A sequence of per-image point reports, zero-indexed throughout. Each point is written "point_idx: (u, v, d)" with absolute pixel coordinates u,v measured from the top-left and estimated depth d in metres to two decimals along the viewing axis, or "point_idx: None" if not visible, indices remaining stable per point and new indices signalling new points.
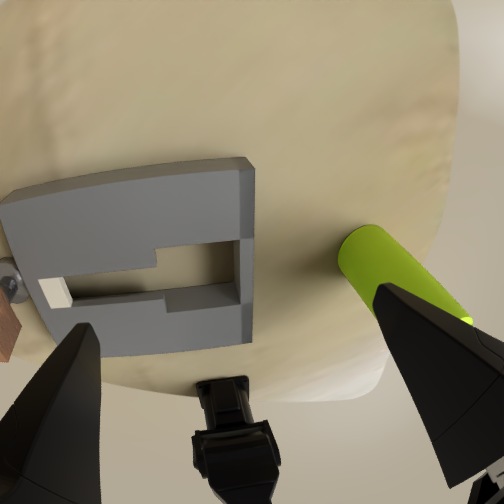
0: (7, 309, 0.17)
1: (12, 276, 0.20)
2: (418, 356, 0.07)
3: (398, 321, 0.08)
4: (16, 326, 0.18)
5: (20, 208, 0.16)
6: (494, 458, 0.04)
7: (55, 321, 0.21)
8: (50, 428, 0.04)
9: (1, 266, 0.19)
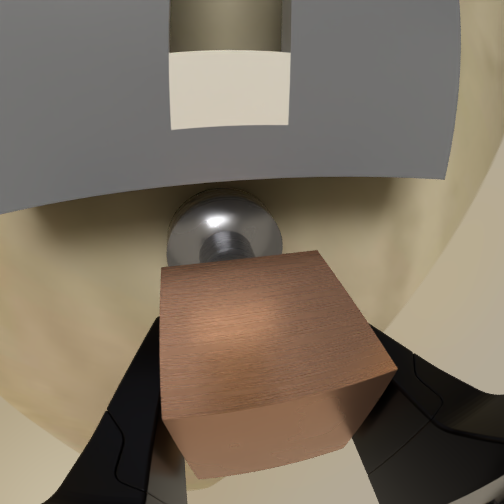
0: (230, 274, 0.07)
1: (200, 235, 0.11)
2: None
3: None
4: (302, 268, 0.07)
5: None
6: None
7: (337, 134, 0.08)
8: (160, 431, 0.05)
9: (172, 258, 0.11)
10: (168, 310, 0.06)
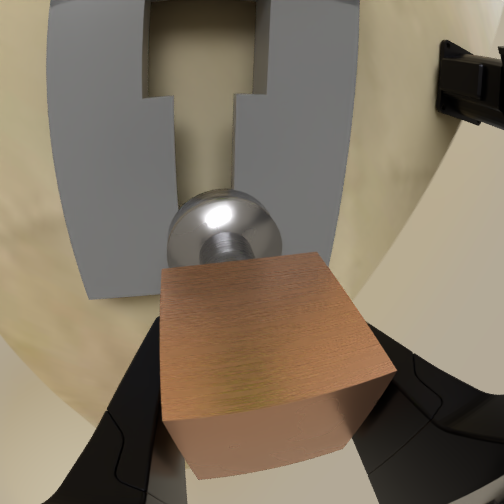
0: (230, 275, 0.07)
1: (200, 236, 0.11)
2: None
3: None
4: (303, 269, 0.07)
5: (87, 270, 0.16)
6: None
7: None
8: (160, 431, 0.05)
9: (172, 259, 0.11)
10: (168, 312, 0.06)
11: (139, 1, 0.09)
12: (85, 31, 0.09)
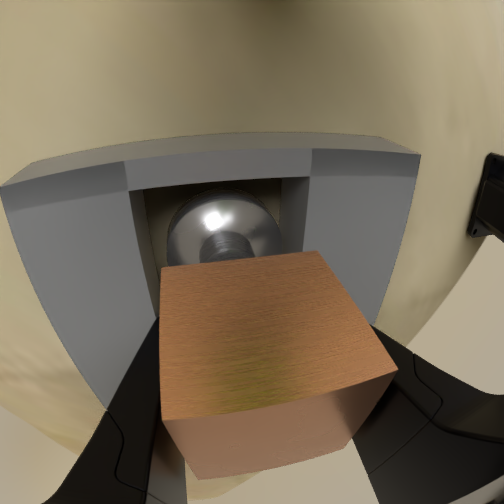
0: (230, 274, 0.07)
1: (200, 235, 0.11)
2: None
3: None
4: (303, 268, 0.07)
5: None
6: None
7: None
8: (160, 431, 0.05)
9: (171, 258, 0.11)
10: (168, 310, 0.06)
11: (125, 215, 0.09)
12: (65, 254, 0.09)
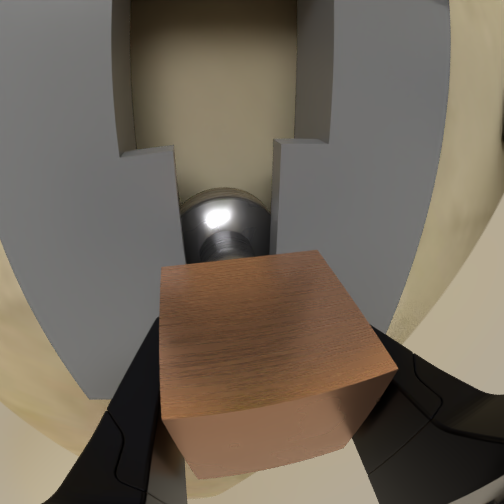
0: (230, 273, 0.07)
1: (200, 235, 0.11)
2: None
3: None
4: (303, 267, 0.07)
5: (81, 375, 0.11)
6: None
7: None
8: (160, 431, 0.05)
9: None
10: (168, 310, 0.06)
11: None
12: (18, 47, 0.05)
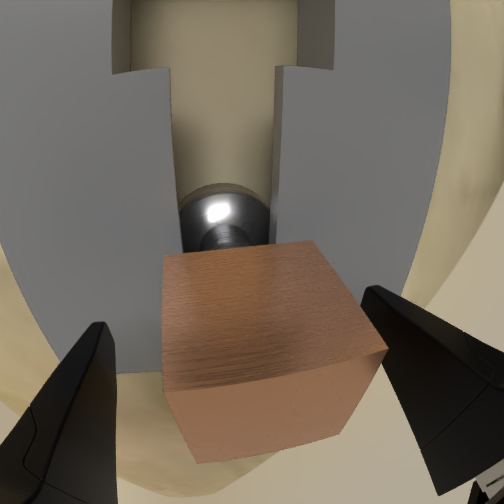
0: (229, 261, 0.07)
1: (200, 228, 0.11)
2: (405, 361, 0.07)
3: (385, 325, 0.08)
4: (298, 256, 0.08)
5: (59, 343, 0.10)
6: (483, 468, 0.04)
7: None
8: (70, 430, 0.04)
9: None
10: (170, 293, 0.06)
11: None
12: None
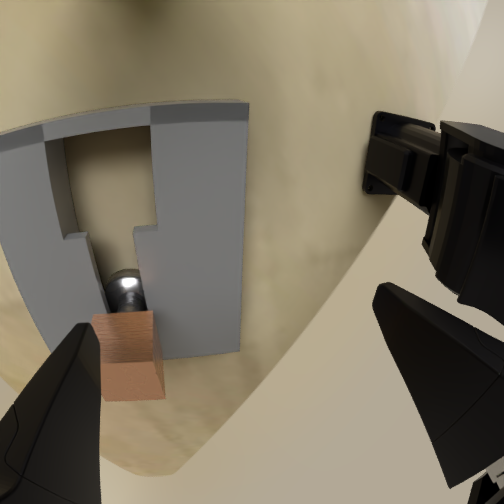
0: (115, 319, 0.17)
1: (117, 293, 0.20)
2: (418, 356, 0.07)
3: (398, 321, 0.08)
4: (142, 319, 0.17)
5: (53, 346, 0.19)
6: (494, 458, 0.04)
7: (176, 348, 0.22)
8: (50, 428, 0.04)
9: None
10: None
11: (42, 156, 0.12)
12: (10, 184, 0.12)
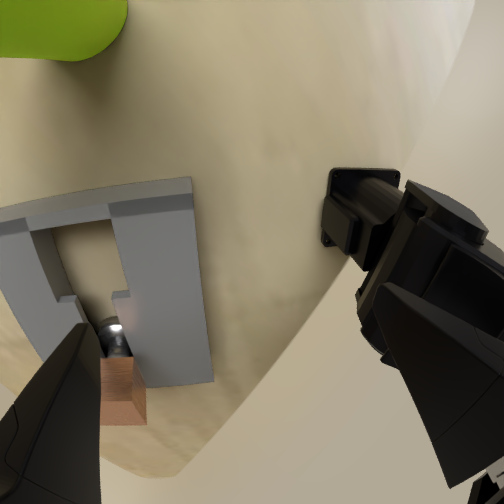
0: (104, 364, 0.20)
1: (108, 337, 0.23)
2: (418, 356, 0.07)
3: (398, 321, 0.08)
4: (124, 364, 0.20)
5: None
6: (494, 458, 0.04)
7: (159, 379, 0.25)
8: (50, 428, 0.04)
9: None
10: None
11: (30, 242, 0.15)
12: (8, 261, 0.16)
